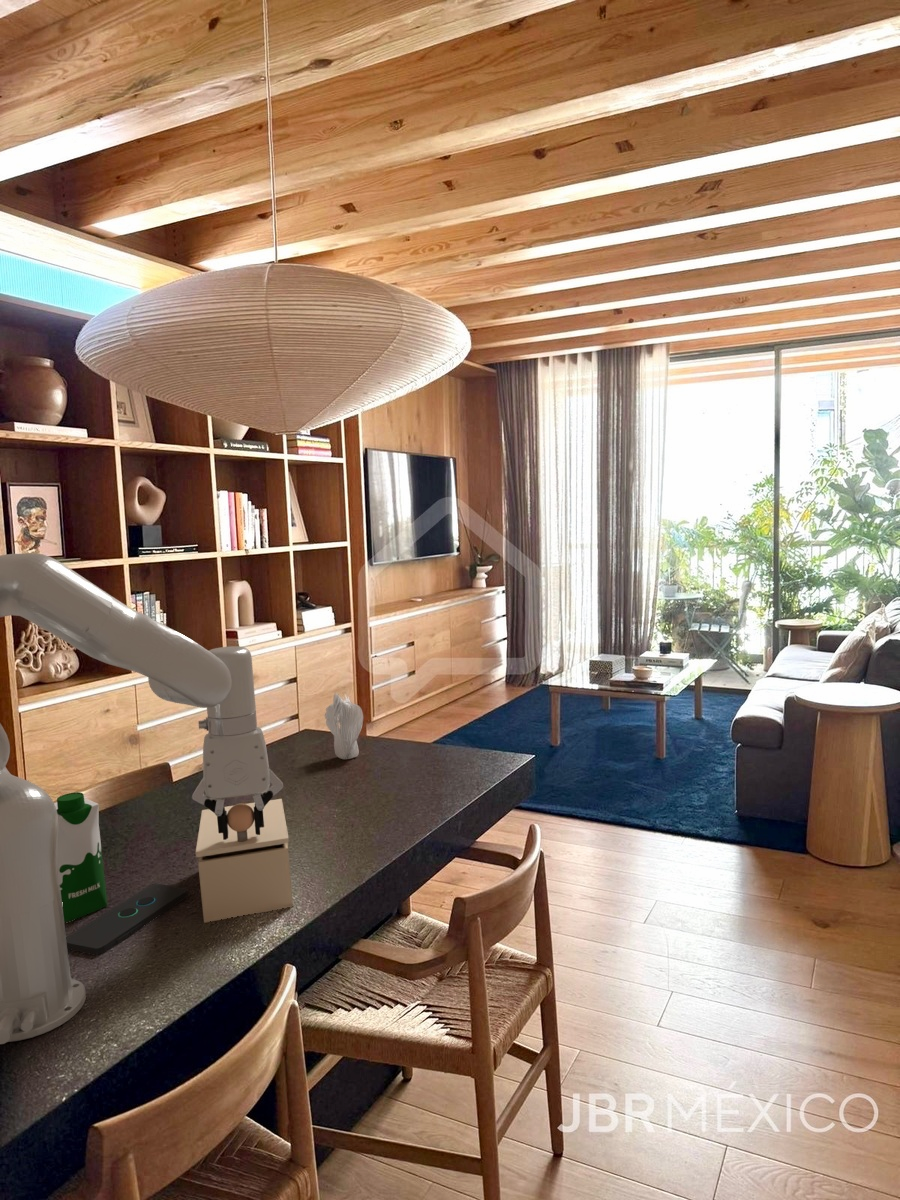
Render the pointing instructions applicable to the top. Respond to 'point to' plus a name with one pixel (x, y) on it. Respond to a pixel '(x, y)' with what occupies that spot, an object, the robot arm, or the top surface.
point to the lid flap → (242, 829)
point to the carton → (245, 882)
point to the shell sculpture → (344, 726)
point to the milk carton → (79, 856)
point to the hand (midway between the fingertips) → (241, 833)
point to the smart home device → (125, 919)
